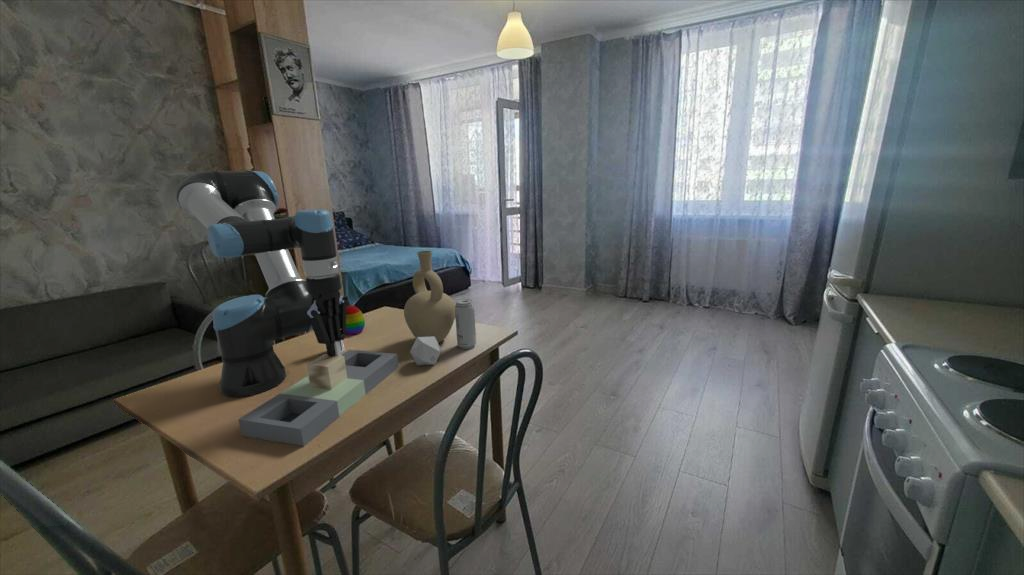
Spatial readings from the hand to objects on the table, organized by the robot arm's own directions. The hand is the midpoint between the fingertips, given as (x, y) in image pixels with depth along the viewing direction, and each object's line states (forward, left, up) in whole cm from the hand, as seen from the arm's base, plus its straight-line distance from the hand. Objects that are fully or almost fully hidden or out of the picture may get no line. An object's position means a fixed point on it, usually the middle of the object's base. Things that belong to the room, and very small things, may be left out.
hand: (337, 365), depth 104 cm
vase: (+9, +35, -7) cm, 37 cm away
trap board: (0, -3, -7) cm, 8 cm away
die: (+15, +19, -7) cm, 25 cm away
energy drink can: (+22, +33, -7) cm, 40 cm away
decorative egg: (-23, +37, -7) cm, 44 cm away
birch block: (0, -4, -3) cm, 5 cm away
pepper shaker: (-18, +21, -7) cm, 29 cm away
